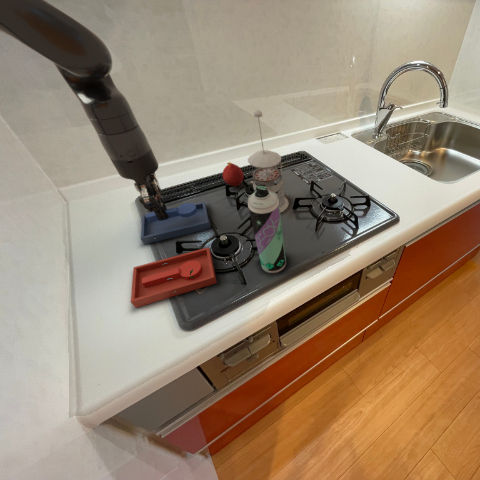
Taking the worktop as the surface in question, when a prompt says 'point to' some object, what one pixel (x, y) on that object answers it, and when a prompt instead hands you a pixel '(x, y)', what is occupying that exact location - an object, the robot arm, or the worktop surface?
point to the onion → (233, 174)
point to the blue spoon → (175, 212)
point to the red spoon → (174, 274)
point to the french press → (268, 170)
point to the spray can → (267, 229)
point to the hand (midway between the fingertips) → (163, 216)
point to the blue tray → (175, 225)
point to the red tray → (166, 289)
